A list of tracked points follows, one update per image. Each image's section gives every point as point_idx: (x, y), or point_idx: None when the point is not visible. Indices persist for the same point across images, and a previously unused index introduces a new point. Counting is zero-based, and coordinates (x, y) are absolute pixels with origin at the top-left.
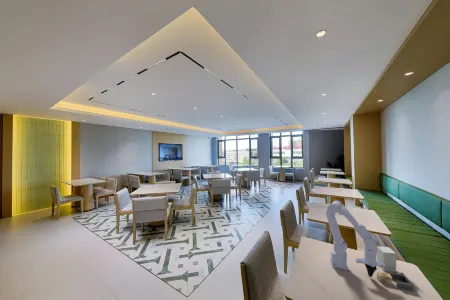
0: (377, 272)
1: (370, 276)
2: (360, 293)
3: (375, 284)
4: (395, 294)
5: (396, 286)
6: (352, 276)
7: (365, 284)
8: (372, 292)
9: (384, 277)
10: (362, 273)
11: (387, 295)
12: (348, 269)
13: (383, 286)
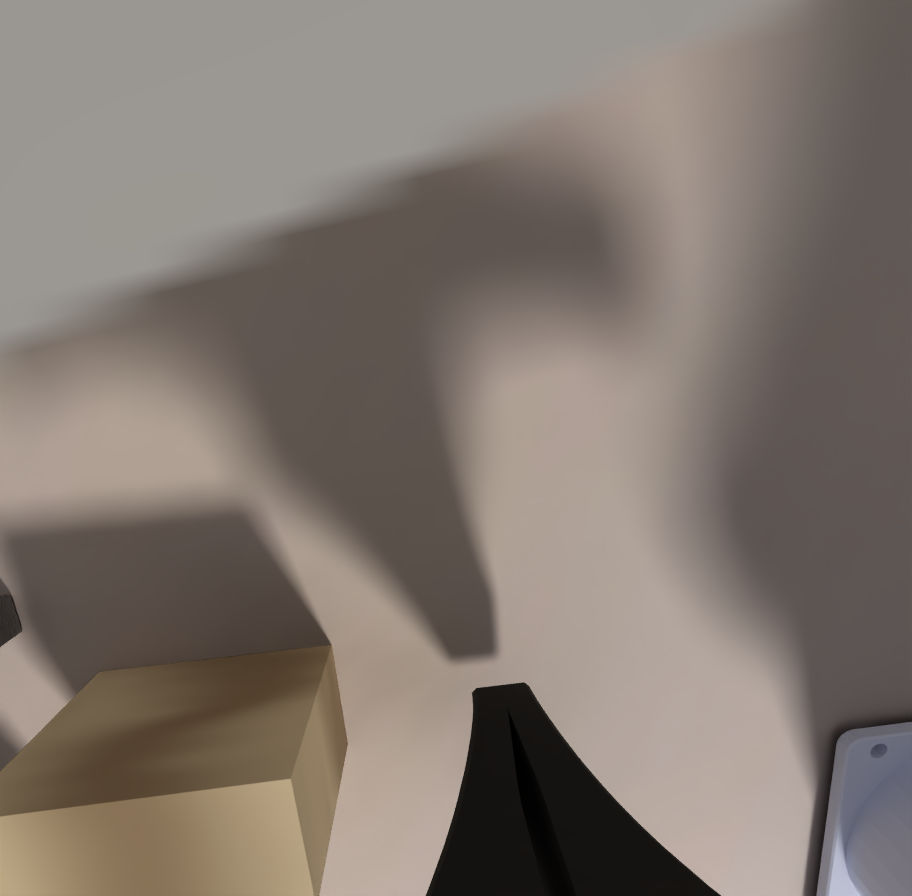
0: (315, 883)
1: (506, 690)
2: (895, 25)
3: (443, 513)
4: (100, 341)
5: (21, 631)
6: (832, 577)
7: (657, 423)
8: (599, 190)
9: (178, 761)
10: (595, 752)
11: (288, 222)
12: (856, 749)
13: (293, 517)
